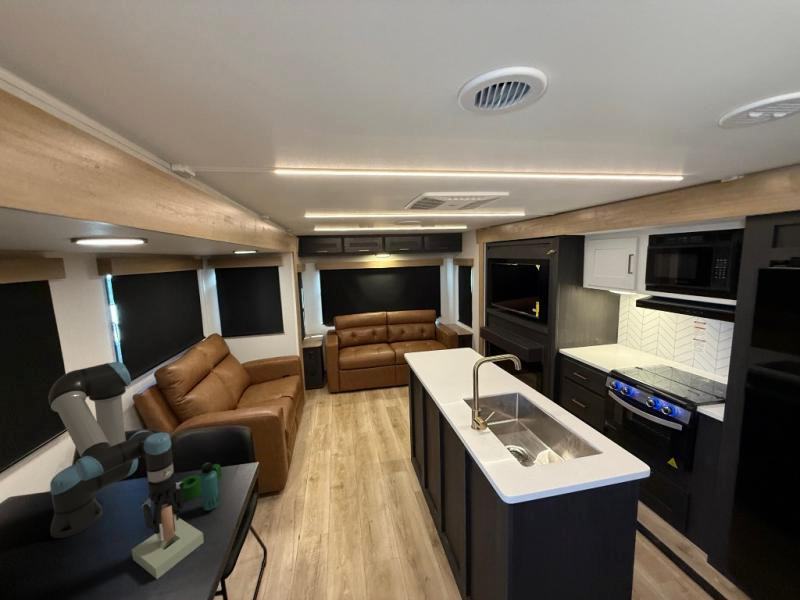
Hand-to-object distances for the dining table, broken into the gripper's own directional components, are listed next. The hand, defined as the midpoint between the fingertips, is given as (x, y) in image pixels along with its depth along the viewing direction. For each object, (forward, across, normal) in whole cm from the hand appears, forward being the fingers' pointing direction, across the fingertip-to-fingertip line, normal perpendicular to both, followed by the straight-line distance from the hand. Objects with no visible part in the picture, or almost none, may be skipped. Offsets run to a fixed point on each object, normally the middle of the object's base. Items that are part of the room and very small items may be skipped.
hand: (167, 534), depth 118 cm
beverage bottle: (+7, +20, +6) cm, 22 cm away
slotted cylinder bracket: (+7, +25, +24) cm, 36 cm away
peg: (+1, 0, 0) cm, 1 cm away
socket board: (+7, 0, 0) cm, 7 cm away
